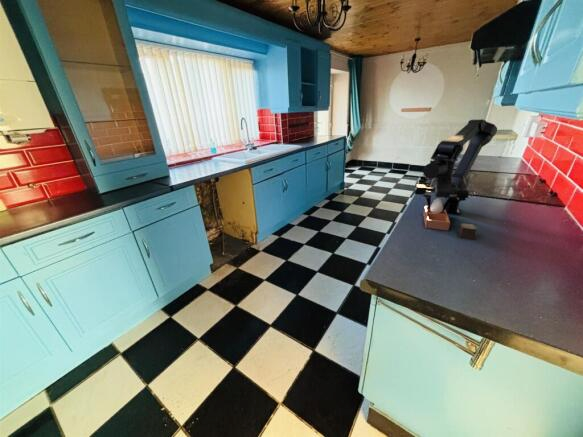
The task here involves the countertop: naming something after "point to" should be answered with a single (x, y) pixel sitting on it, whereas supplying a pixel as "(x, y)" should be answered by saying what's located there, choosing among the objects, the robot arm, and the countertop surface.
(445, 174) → the robot arm
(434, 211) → the egg
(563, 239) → the countertop surface
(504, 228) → the countertop surface
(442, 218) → the tray
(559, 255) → the countertop surface
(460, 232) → the walnut block
